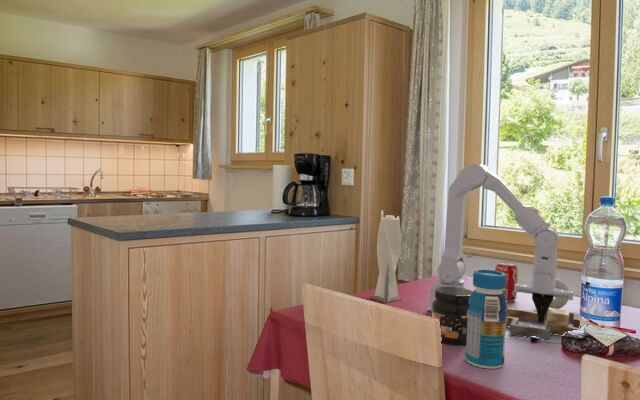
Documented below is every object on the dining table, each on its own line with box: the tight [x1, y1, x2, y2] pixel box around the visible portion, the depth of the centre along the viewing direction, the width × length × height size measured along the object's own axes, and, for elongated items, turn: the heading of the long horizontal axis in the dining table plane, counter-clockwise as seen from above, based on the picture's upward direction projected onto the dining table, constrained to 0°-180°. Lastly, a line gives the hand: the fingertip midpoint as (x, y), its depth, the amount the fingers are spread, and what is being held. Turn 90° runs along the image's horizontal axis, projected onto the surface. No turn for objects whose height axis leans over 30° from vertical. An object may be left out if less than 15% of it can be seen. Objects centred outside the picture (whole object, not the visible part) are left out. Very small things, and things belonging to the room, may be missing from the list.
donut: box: [548, 277, 570, 309], centre depth 154 cm, size 10×4×10 cm, turn 72°
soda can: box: [494, 261, 519, 303], centre depth 164 cm, size 7×7×12 cm
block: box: [546, 308, 570, 326], centre depth 135 cm, size 5×5×5 cm
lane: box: [506, 307, 586, 341], centre depth 137 cm, size 22×23×4 cm
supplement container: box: [431, 286, 474, 346], centre depth 124 cm, size 10×10×12 cm
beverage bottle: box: [464, 269, 509, 370], centre depth 109 cm, size 8×8×20 cm
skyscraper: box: [370, 210, 403, 304], centre depth 160 cm, size 8×8×28 cm
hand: (541, 321), depth 137 cm, fingers closed
